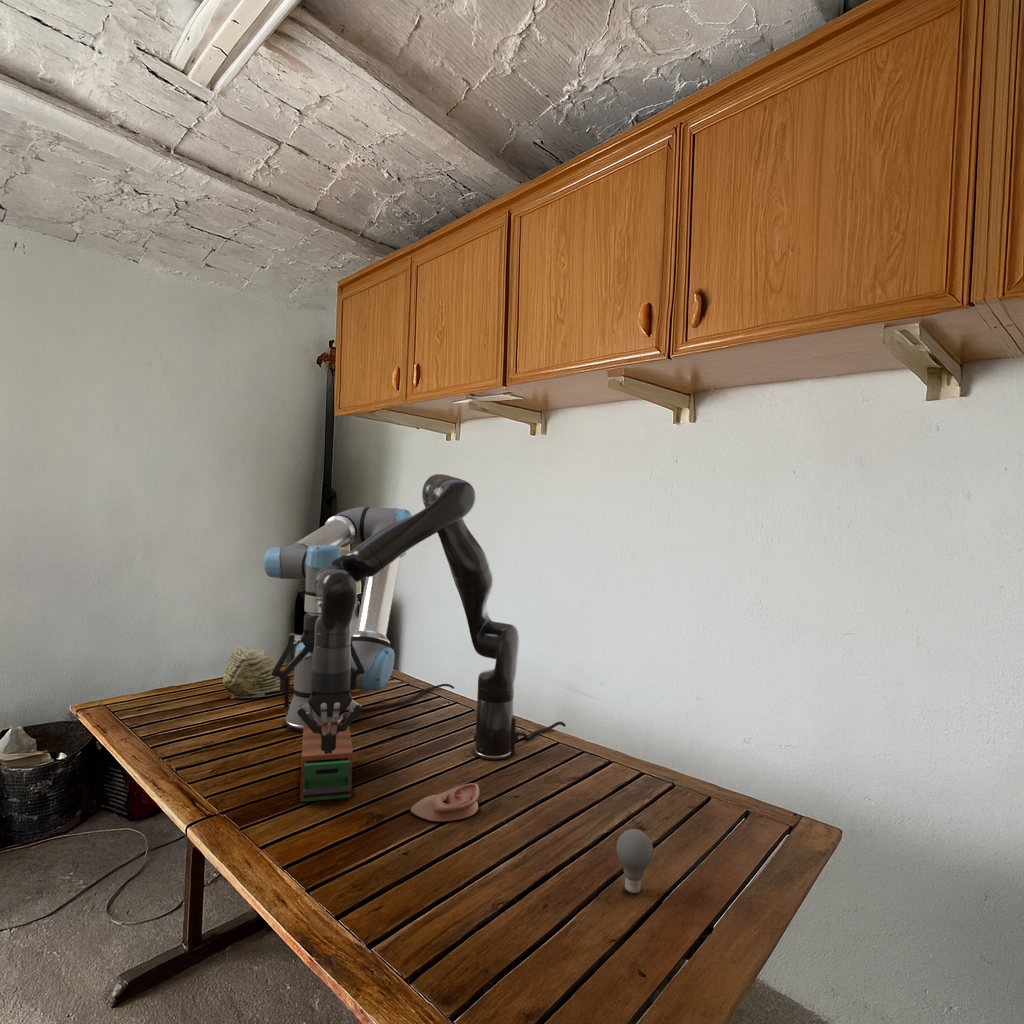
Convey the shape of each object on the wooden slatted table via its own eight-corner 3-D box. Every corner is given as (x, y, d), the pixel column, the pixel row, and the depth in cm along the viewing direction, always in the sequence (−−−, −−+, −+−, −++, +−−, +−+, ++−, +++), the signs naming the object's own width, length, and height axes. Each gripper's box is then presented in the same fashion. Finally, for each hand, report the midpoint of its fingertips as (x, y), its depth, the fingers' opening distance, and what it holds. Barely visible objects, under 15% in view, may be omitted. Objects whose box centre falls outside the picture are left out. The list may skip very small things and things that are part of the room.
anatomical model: (405, 797, 126) (424, 773, 137) (404, 817, 126) (424, 792, 138) (469, 807, 124) (484, 782, 135) (468, 827, 124) (483, 800, 135)
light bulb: (610, 879, 108) (613, 822, 108) (644, 879, 109) (647, 822, 109) (619, 902, 102) (622, 840, 102) (655, 901, 103) (658, 840, 103)
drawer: (350, 811, 126) (351, 774, 126) (302, 815, 124) (303, 778, 123) (345, 763, 148) (346, 732, 148) (304, 766, 146) (305, 734, 146)
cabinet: (351, 797, 134) (352, 752, 134) (299, 801, 131) (301, 756, 131) (347, 761, 152) (348, 721, 152) (302, 764, 149) (303, 724, 149)
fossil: (218, 695, 195) (220, 647, 195) (278, 685, 208) (279, 640, 207) (228, 703, 189) (230, 653, 188) (289, 692, 201) (290, 645, 201)
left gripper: (261, 616, 138) (257, 712, 139) (377, 615, 144) (374, 708, 145) (265, 609, 146) (262, 701, 146) (376, 609, 152) (373, 697, 152)
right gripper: (296, 673, 122) (292, 762, 122) (366, 670, 126) (363, 757, 126) (297, 662, 129) (294, 747, 129) (363, 660, 133) (360, 742, 133)
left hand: (317, 705), depth 145 cm, fingers open, 13 cm apart
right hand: (328, 752), depth 128 cm, fingers closed
